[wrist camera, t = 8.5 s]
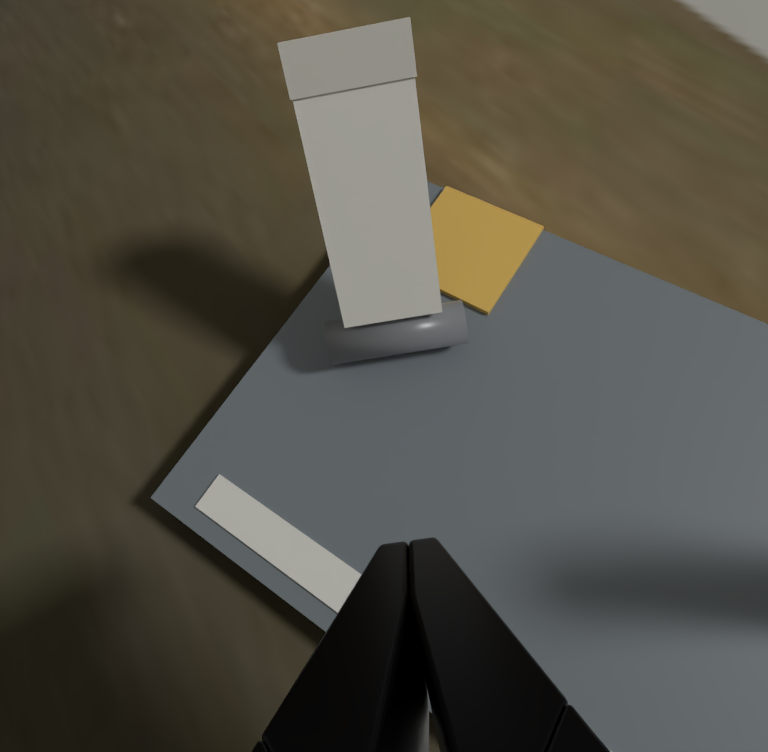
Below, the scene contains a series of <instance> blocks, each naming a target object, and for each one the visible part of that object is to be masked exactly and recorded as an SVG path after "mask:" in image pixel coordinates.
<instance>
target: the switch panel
mask: <svg viewBox="0 0 768 752" xmlns="http://www.w3.org/2000/svg"><path fill="white" fill-rule="evenodd" d="M427 185H428V194H429V202H430V211H431V219H432V228H433V236H434V245H435V253H436V262H437V270H438V279H439V287H440V296H441V303H445V302H451V301H457V300H462V302H463V306H464V310H465V315H466V321H467V329H468V343H467V344H461V345H455V346H448V347H442V348H435V349H429V350H423V351H416V352H410V353H404V354H397V355H391V356H385V357H378V358H372V359H366V360H359V361H353V362H347V363H340V364H334V365H332V364H331V362H330V360H329V357H328V353H327V349H326V343H325V336H324V323H325V322H328V321H334V320H340V319H342V315H341V310H340V306H339V301H338V297H337V293H336V288H335V284H334V279H333V275H332V271H331V266H329V267H328V268H327V270H326V271H325V272H324V273H323V275H322V276H321V277H320V279H319V280H318V281H317V282H316V284H315V285H314V286H313V288H312V289H311V290H310V292H309V293H308V294H307V295H306V297H305V298H304V299H303V301H302V302H301V303H300V305H299V306H298V307H297V308H296V310H295V311H294V312H293V314H292V315H291V316H290V317H289V319H288V320H287V321H286V323H285V324H284V325H283V327H282V328H281V329H280V330H279V332H278V333H277V334H276V336H275V337H274V338H273V340H272V341H271V342H270V343H269V345H268V346H267V347H266V349H265V350H264V351H263V352H262V354H261V355H260V356H259V358H258V359H257V360H256V362H255V363H254V364H253V365H252V367H251V368H250V369H249V371H248V372H247V373H246V375H245V376H244V377H243V378H242V380H241V381H240V382H239V384H238V385H237V386H236V387H235V389H234V390H233V391H232V393H231V394H230V395H229V397H228V398H227V399H226V400H225V402H224V403H223V404H222V406H221V407H220V408H219V410H218V411H217V412H216V413H215V415H214V416H213V417H212V419H211V420H210V421H209V422H208V424H207V425H206V426H205V428H204V429H203V430H202V432H201V433H200V434H199V435H198V437H197V438H196V439H195V441H194V442H193V443H192V445H191V446H190V447H189V448H188V450H187V451H186V452H185V454H184V455H183V456H182V457H181V459H180V460H179V461H178V463H177V464H176V465H175V467H174V468H173V469H172V470H171V472H170V473H169V474H168V476H167V477H166V478H165V480H164V481H163V482H162V483H161V485H160V486H159V487H158V489H157V490H156V491H155V492H154V494H153V495H152V496H151V499H153V500H154V501H155V502H157V503H158V504H159V505H160V506H162V507H163V508H164V509H166V510H167V511H168V512H170V513H171V514H172V515H174V516H175V517H176V518H177V519H179V520H180V521H181V522H183V523H184V524H185V525H187V526H188V527H189V528H191V529H192V530H193V531H194V532H196V533H197V534H198V535H200V536H201V537H202V538H204V539H205V540H206V541H208V542H209V543H210V544H211V545H213V546H214V547H215V548H217V549H218V550H219V551H221V552H222V553H223V554H225V555H226V556H227V557H228V558H230V559H231V560H232V561H234V562H235V563H236V564H238V565H239V566H240V567H242V568H243V569H244V570H245V571H247V572H248V573H249V574H251V575H252V576H253V577H255V578H256V579H257V580H259V581H260V582H261V583H262V584H264V585H265V586H266V587H268V588H269V589H270V590H272V591H273V592H274V593H276V594H277V595H278V596H279V597H281V598H282V599H283V600H285V601H286V602H287V603H289V604H290V605H291V606H292V607H294V608H295V609H296V610H298V611H299V612H300V613H302V614H303V615H304V616H306V617H307V618H308V619H309V620H311V621H312V622H313V623H315V624H316V625H317V626H319V627H320V628H321V629H323V630H324V631H325V632H326V631H327V630H328V628H329V626H330V625H331V623H332V622H333V620H334V618H335V617H336V615H337V613H338V612H339V610H340V609H341V607H342V605H343V604H344V602H345V601H346V599H347V597H348V596H349V594H350V592H351V591H352V589H353V588H354V586H355V584H356V583H357V581H358V580H359V578H360V576H361V575H362V573H363V571H364V570H365V568H366V567H367V565H368V563H369V562H370V560H371V559H372V557H373V555H374V554H375V552H376V550H377V549H378V547H379V546H381V545H382V544H387V543H394V542H402V541H404V542H406V543H407V544H408V546H409V543H410V541H412V540H416V539H424V538H431V537H434V538H436V539H438V540H439V542H440V543H441V544H442V545H443V547H444V548H445V549H446V550H447V552H448V553H449V554H450V555H451V556H452V558H453V559H454V560H455V561H456V563H457V564H458V565H459V566H460V568H461V569H462V570H463V571H464V573H465V574H466V575H467V576H468V578H469V579H470V580H471V581H472V582H473V584H474V585H475V586H476V587H477V589H478V590H479V591H480V592H481V594H482V595H483V596H484V597H485V599H486V600H487V601H488V602H489V604H490V605H491V606H492V607H493V609H494V610H495V611H496V612H497V613H498V615H499V616H500V617H501V618H502V620H503V621H504V622H505V623H506V625H507V626H508V627H509V628H510V630H511V631H512V632H513V633H514V635H515V636H516V637H517V638H518V639H519V641H520V642H521V643H522V644H523V646H524V647H525V648H526V649H527V651H528V652H529V653H530V654H531V656H532V657H533V658H534V659H535V661H536V662H537V663H538V664H539V665H540V667H541V668H542V669H543V670H544V672H545V673H546V674H547V675H548V677H549V678H550V679H551V680H552V682H553V683H554V684H555V685H556V687H557V688H558V689H559V690H560V692H561V693H562V694H563V695H564V696H565V698H566V699H567V701H568V705H572V706H573V707H574V708H575V710H576V711H577V712H578V713H579V715H580V716H581V717H582V718H583V719H584V721H585V722H586V723H587V724H588V726H589V727H590V728H591V729H592V731H593V732H594V733H595V734H596V735H597V737H598V738H599V739H600V740H601V741H602V742H603V744H604V745H605V746H606V747H607V748H608V749H609V751H610V752H768V324H766V323H764V322H761V321H759V320H756V319H754V318H752V317H749V316H747V315H745V314H742V313H740V312H737V311H735V310H733V309H730V308H728V307H725V306H723V305H721V304H718V303H716V302H714V301H711V300H709V299H706V298H704V297H702V296H699V295H697V294H694V293H692V292H690V291H687V290H685V289H683V288H680V287H678V286H675V285H673V284H671V283H668V282H666V281H663V280H661V279H659V278H656V277H654V276H652V275H649V274H647V273H644V272H642V271H640V270H637V269H635V268H632V267H630V266H628V265H625V264H623V263H621V262H618V261H616V260H613V259H611V258H609V257H606V256H604V255H601V254H599V253H597V252H594V251H592V250H590V249H587V248H585V247H582V246H580V245H578V244H575V243H573V242H570V241H568V240H566V239H563V238H561V237H559V236H556V235H554V234H551V233H549V232H547V231H544V230H543V228H544V226H542V225H539V224H537V223H534V222H532V221H530V220H527V219H525V218H522V217H520V216H518V215H515V214H513V213H510V212H508V211H506V210H503V209H501V208H499V207H496V206H494V205H491V204H489V203H487V202H484V201H482V200H479V199H477V198H475V197H472V196H470V195H467V194H465V193H463V192H460V191H458V190H455V189H453V188H451V187H448V186H446V187H445V189H444V188H442V187H439V186H437V185H435V184H432V183H430V182H427ZM428 701H429V711H430V712H431V713H432V711H431V705H430V700H429V695H428Z"/></svg>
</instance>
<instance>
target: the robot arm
mask: <svg viewBox="0 0 768 752" xmlns="http://www.w3.org/2000/svg"><path fill="white" fill-rule="evenodd" d="M428 695H429V700H430V705H431V711H432V716H433V721H434V725H435V730H436V734H437V739H438V743H439V748H440V752H610V751H609V749H608V748H607V747H606V746H605V745H604V744H603V742H602V741H601V740H600V739H599V738H598V737H597V735H596V734H595V733H594V732H593V731H592V729H591V728H590V727H589V726H588V724H587V723H586V722H585V721H584V719H583V718H582V717H581V716H580V715H579V713H578V712H577V711H576V710H575V708H574V707H573V706H572V705H568V701H567V699H566V698H565V696H564V695H563V694H562V693H561V692H560V690H559V689H558V688H557V687H556V685H555V684H554V683H553V682H552V680H551V679H550V678H549V677H548V675H547V674H546V673H545V672H544V670H543V669H542V668H541V667H540V665H539V664H538V663H537V662H536V661H535V659H534V658H533V657H532V656H531V654H530V653H529V652H528V651H527V649H526V648H525V647H524V646H523V644H522V643H521V642H520V641H519V639H518V638H517V637H516V636H515V635H514V633H513V632H512V631H511V630H510V628H509V627H508V626H507V625H506V623H505V622H504V621H503V620H502V618H501V617H500V616H499V615H498V613H497V612H496V611H495V610H494V609H493V607H492V606H491V605H490V604H489V602H488V601H487V600H486V599H485V597H484V596H483V595H482V594H481V592H480V591H479V590H478V589H477V587H476V586H475V585H474V584H473V582H472V581H471V580H470V579H469V578H468V576H467V575H466V574H465V573H464V571H463V570H462V569H461V568H460V566H459V565H458V564H457V563H456V561H455V560H454V559H453V558H452V556H451V555H450V554H449V553H448V552H447V550H446V549H445V548H444V547H443V545H442V544H441V543H440V542H439V540H438V539H436V538H434V537H431V538H424V539H416V540H412V541H410V543H409V546H408V544H407V543H406V542H404V541H402V542H394V543H387V544H382V545H381V546H379V547H378V549H377V550H376V552H375V554H374V555H373V557H372V559H371V560H370V562H369V563H368V565H367V567H366V568H365V570H364V571H363V573H362V575H361V576H360V578H359V580H358V581H357V583H356V584H355V586H354V588H353V589H352V591H351V592H350V594H349V596H348V597H347V599H346V601H345V602H344V604H343V605H342V607H341V609H340V610H339V612H338V613H337V615H336V617H335V618H334V620H333V622H332V623H331V625H330V626H329V628H328V630H327V631H326V633H325V634H324V636H323V638H322V639H321V641H320V643H319V644H318V646H317V647H316V649H315V651H314V652H313V654H312V655H311V657H310V659H309V660H308V662H307V664H306V665H305V667H304V668H303V670H302V672H301V673H300V675H299V676H298V678H297V680H296V681H295V683H294V685H293V686H292V688H291V689H290V691H289V693H288V694H287V696H286V697H285V699H284V701H283V702H282V704H281V706H280V707H279V709H278V710H277V712H276V714H275V715H274V717H273V718H272V720H271V722H270V723H269V725H268V726H267V728H266V730H265V731H264V733H263V735H262V740H263V741H258V742H257V744H256V745H255V747H254V749H253V750H252V752H429V701H428Z"/></svg>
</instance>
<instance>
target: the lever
mask: <svg viewBox="0 0 768 752" xmlns="http://www.w3.org/2000/svg"><path fill="white" fill-rule="evenodd" d="M277 44H278V49H279V53H280V57H281V62H282V66H283V70H284V75H285V79H286V84H287V88H288V92H289V97H290V100H293V104H294V108H295V112H296V117H297V121H298V126H299V130H300V134H301V139H302V143H303V148H304V152H305V156H306V161H307V165H308V170H309V174H310V178H311V183H312V187H313V192H314V196H315V200H316V205H317V209H318V214H319V218H320V222H321V227H322V231H323V235H324V240H325V244H326V249H327V253H328V257H329V262H330V266H331V271H332V275H333V279H334V284H335V288H336V293H337V297H338V301H339V306H340V310H341V315H342V319H340V320H334V321H328V322H325V323H324V336H325V343H326V349H327V353H328V357H329V360H330V362H331V364H332V365H334V364H340V363H347V362H353V361H359V360H366V359H372V358H378V357H385V356H391V355H397V354H404V353H410V352H416V351H423V350H429V349H435V348H442V347H448V346H455V345H461V344H467V343H468V329H467V321H466V315H465V310H464V306H463V302H462V300H457V301H451V302H445V303H441V296H440V287H439V279H438V270H437V262H436V253H435V245H434V236H433V228H432V219H431V211H430V202H429V194H428V185H427V177H426V168H425V160H424V151H423V143H422V134H421V126H420V117H419V109H418V100H417V92H416V83H415V77H416V76H417V72H416V64H415V55H414V46H413V38H412V29H411V21H410V17H407V18H402V19H397V20H392V21H387V22H382V23H377V24H372V25H367V26H361V27H356V28H351V29H346V30H341V31H336V32H331V33H326V34H321V35H315V36H310V37H305V38H300V39H295V40H290V41H285V42H280V43H277Z"/></svg>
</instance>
